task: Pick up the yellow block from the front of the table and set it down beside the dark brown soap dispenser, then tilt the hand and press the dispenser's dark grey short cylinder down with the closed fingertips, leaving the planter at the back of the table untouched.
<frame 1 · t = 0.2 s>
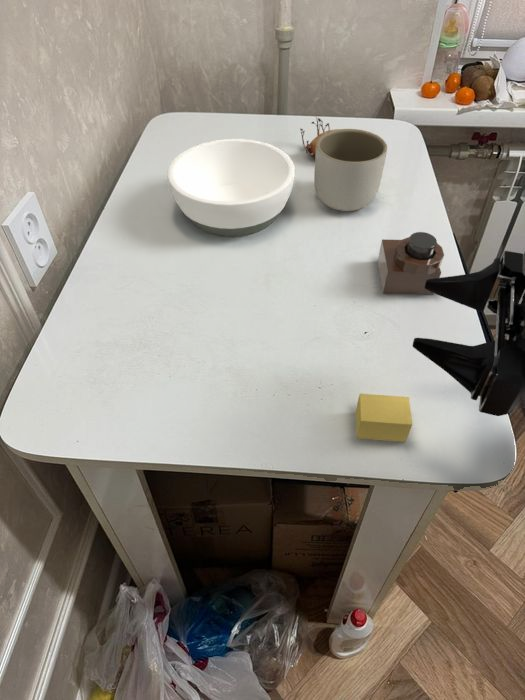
hand: (419, 311, 53), 16 cm above the table, tool horizontal, fingers open, 9 cm apart
bowl: (233, 210, 95), on the table
yellow block: (379, 426, 63), on the table
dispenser: (404, 277, 81), on the table
dark grey short cylinder: (421, 246, 75), point 7 cm above the table, slide at 0.1 cm
vegetable: (339, 154, 108), on the table
planter: (344, 200, 96), on the table
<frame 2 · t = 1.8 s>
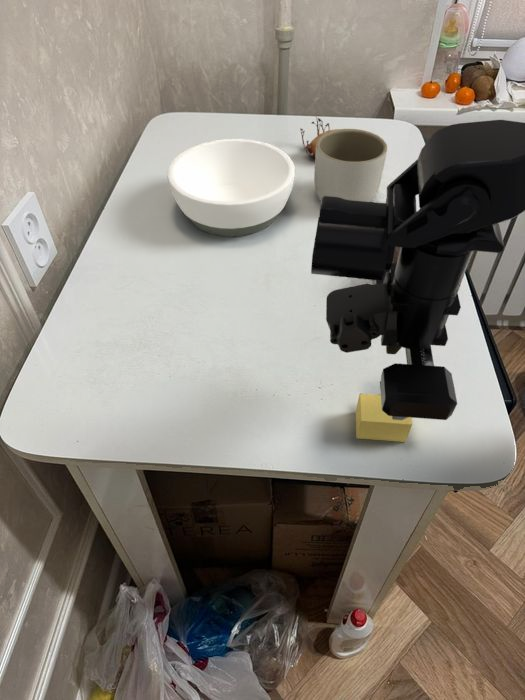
hand: (393, 384, 56), 9 cm above the table, tool pointing down, fingers open, 9 cm apart
nothing on the table moved.
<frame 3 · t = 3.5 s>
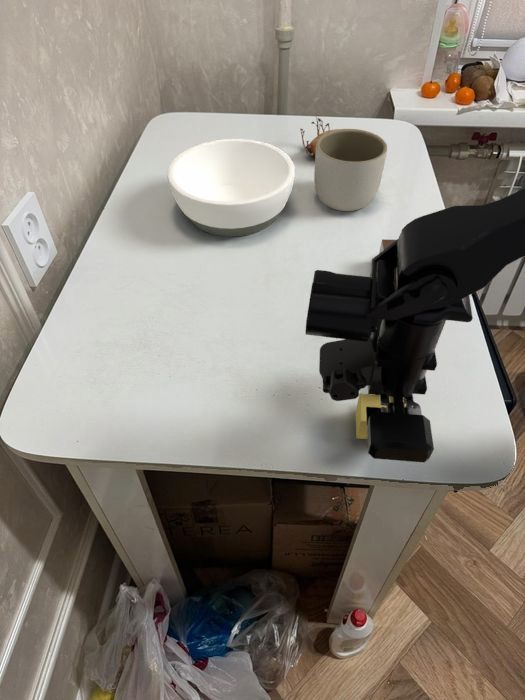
hand: (381, 422, 62), 1 cm above the table, tool pointing down, fingers closed on yellow block, 4 cm apart
yellow block: (379, 426, 63), on the table, touching gripper
everything else where it was.
when the fingers open (1 cm above the table, at t = 9.1 s): yellow block stays where it is, on the table.
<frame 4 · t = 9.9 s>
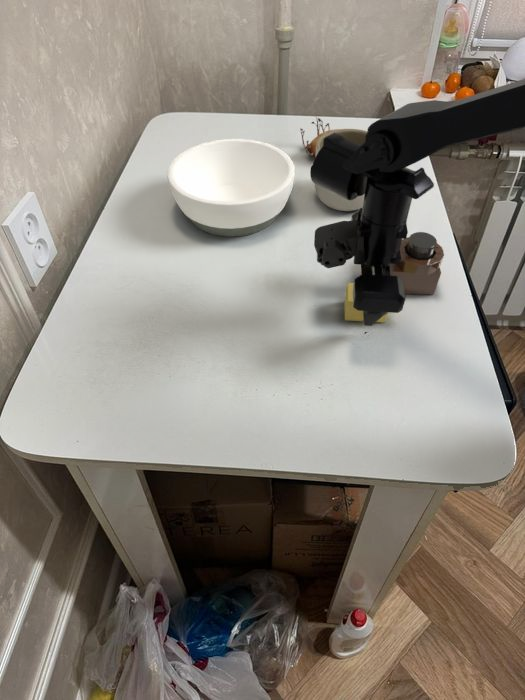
hand: (366, 302, 75), 2 cm above the table, tool pointing down, fingers open, 9 cm apart
yellow block: (364, 312, 76), on the table
everything else where it was.
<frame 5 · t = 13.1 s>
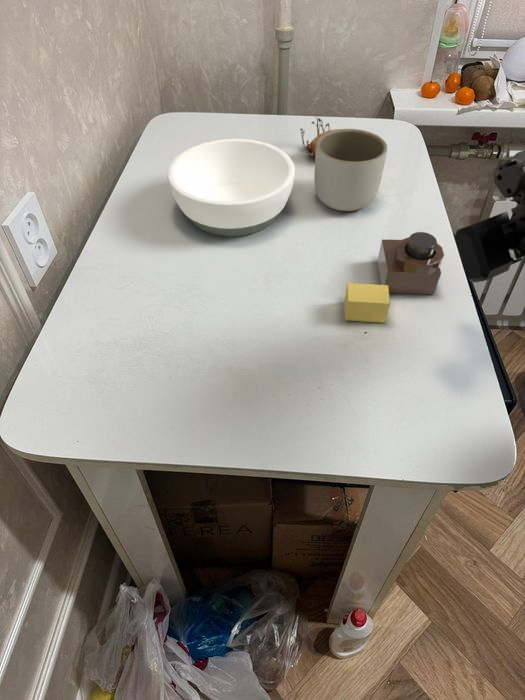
hand: (476, 246, 65), 13 cm above the table, tool tilted 45°, fingers closed
nothing on the table moved.
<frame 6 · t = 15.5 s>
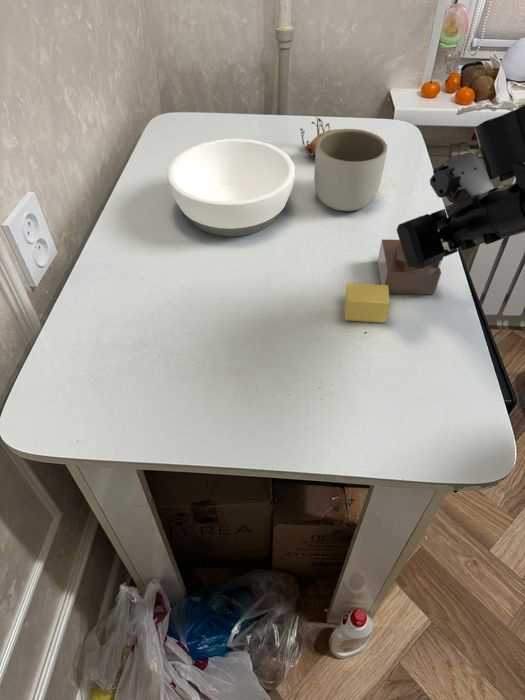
hand: (423, 239, 74), 9 cm above the table, tool tilted 45°, fingers closed, pressing on dark grey short cylinder
dark grey short cylinder: (421, 247, 75), point 7 cm above the table, slide at -0.1 cm, touching gripper
everything else where it was.
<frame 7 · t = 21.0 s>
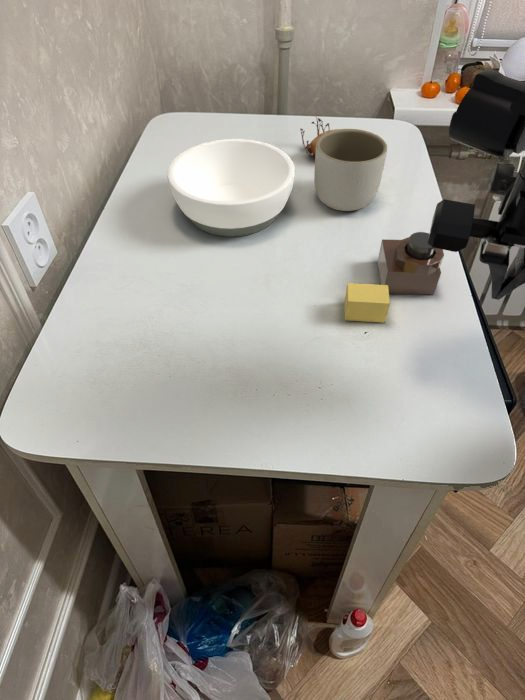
hand: (494, 296, 59), 13 cm above the table, tool pointing down, fingers closed
dark grey short cylinder: (421, 246, 75), point 7 cm above the table, slide at 0.1 cm
everything else where it was.
at the end: yellow block 11.0 cm from the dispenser (horizontally); dark grey short cylinder pushed in 1.4 cm at the most during the clip, back to where it started at the end; planter moved 0.2 cm from its start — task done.
